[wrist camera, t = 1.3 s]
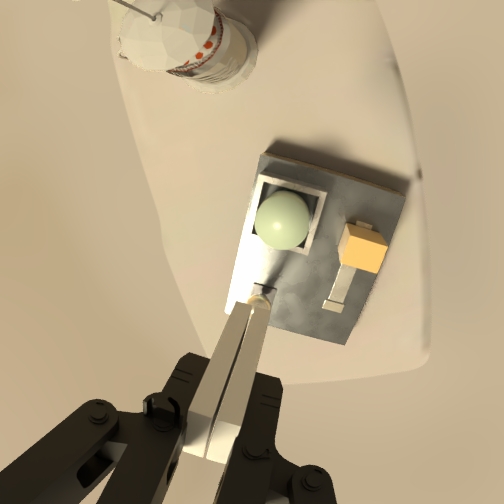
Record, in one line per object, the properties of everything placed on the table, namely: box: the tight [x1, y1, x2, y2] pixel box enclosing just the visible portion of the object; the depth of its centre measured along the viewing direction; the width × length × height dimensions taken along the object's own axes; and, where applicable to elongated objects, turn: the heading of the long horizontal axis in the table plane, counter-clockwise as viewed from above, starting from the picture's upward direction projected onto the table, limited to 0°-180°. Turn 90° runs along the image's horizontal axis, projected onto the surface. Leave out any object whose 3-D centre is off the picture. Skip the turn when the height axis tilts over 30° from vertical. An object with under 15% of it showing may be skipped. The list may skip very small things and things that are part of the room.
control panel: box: [225, 152, 406, 345], centre depth 36 cm, size 20×16×6 cm
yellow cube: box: [338, 223, 388, 274], centre depth 32 cm, size 3×4×4 cm
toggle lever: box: [246, 293, 271, 317], centre depth 33 cm, size 2×2×10 cm
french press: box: [73, 0, 258, 94], centre depth 21 cm, size 10×12×25 cm
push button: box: [254, 191, 310, 250], centre depth 31 cm, size 5×5×3 cm
